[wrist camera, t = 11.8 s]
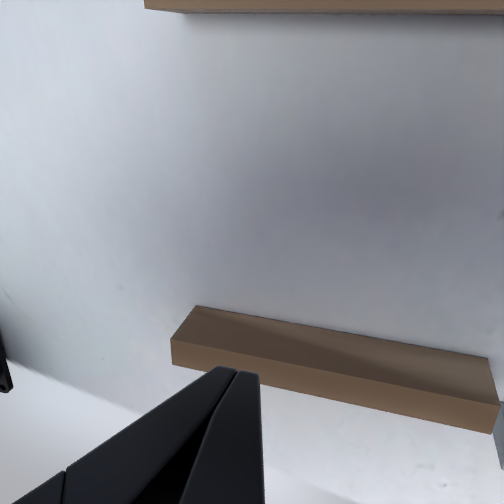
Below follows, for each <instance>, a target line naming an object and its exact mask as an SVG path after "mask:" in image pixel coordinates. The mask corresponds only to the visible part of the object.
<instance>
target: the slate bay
mask: <svg viewBox="0 0 504 504" xmlns="http://www.w3.org/2000/svg"><path fill="white" fill-rule="evenodd" d="M500 405H501V408H500V410H499V413H498V416H497V419H496V422H495V425H494V428H493V431H492V432H493V436H494V440H495V445H496V449H497V453H498V457H499V461H500V465H501V469H502V470H504V403H503V402H500Z"/></svg>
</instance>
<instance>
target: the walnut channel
mask: <svg viewBox="0 0 504 504" xmlns="http://www.w3.org/2000/svg"><path fill="white" fill-rule="evenodd" d="M144 6H145V9H152V10H160V11H168V12H177V13H241V14H445V15H504V0H144ZM170 342H171V355H172V365H177V366H181V367H186V368H190V369H195V370H199V371H204V372H208V371H210V370H211V369H213V368H214V367H216V366H219V365H222V366H226V367H231V368H235V369H237V370H238V371H240V370H245V371H250V372H255V373H258V374H259V377H260V384H263V385H268V386H272V387H277V388H281V389H286V390H290V391H295V392H299V393H304V394H309V395H313V396H318V397H322V398H327V399H331V400H336V401H340V402H345V403H350V404H354V405H359V406H363V407H368V408H372V409H377V410H381V411H386V412H391V413H395V414H400V415H404V416H409V417H413V418H418V419H422V420H427V421H432V422H436V423H441V424H445V425H450V426H454V427H459V428H463V429H468V430H473V431H477V432H482V433H486V434H492V431H493V428H494V425H495V422H496V419H497V416H498V413H499V410H500V408H501V405H500V402H499V398H498V395H497V391H496V387H495V384H494V380H493V377H492V373H491V370H490V366H489V362H488V359H487V358H482V357H476V356H471V355H465V354H460V353H454V352H449V351H443V350H438V349H432V348H427V347H421V346H416V345H410V344H404V343H399V342H393V341H388V340H382V339H377V338H371V337H366V336H360V335H355V334H349V333H344V332H338V331H333V330H327V329H322V328H316V327H311V326H305V325H300V324H294V323H288V322H283V321H277V320H272V319H266V318H261V317H255V316H250V315H244V314H239V313H233V312H228V311H222V310H217V309H211V308H206V307H200V306H195V307H194V309H193V310H192V311H191V312H190V314H189V315H188V316H187V318H186V319H185V320H184V322H183V323H182V324H181V326H180V327H179V328H178V330H177V331H176V332H175V333H174V335H173V336H172V337H171V339H170Z"/></svg>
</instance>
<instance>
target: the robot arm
mask: <svg viewBox="0 0 504 504" xmlns="http://www.w3.org/2000/svg"><path fill="white" fill-rule="evenodd" d="M11 389H13V383H12V379H11V376H10V372H9V369H8V365H7V361H6V358H5V354H4V351H3V347H2V344H1V340H0V392H3V393H8V392H9V391H10V390H11ZM12 504H265V489H264V466H263V443H262V421H261V398H260V377H259V374H258V373H255V372H250V371H245V370H240V371H238V370H237V369H235V368H231V367H226V366H222V365H219V366H216V367H214V368H213V369H211V370H210V371H208V372H207V373H205V374H204V375H202V376H201V377H200V378H198V379H197V380H195V381H194V382H192V383H191V384H189V385H188V386H186V387H185V388H183V389H182V390H180V391H179V392H177V393H176V394H174V395H173V396H172V397H170V398H169V399H167V400H166V401H164V402H163V403H161V404H160V405H158V406H157V407H155V408H154V409H152V410H151V411H149V412H148V413H146V414H145V415H144V416H142V417H141V418H139V419H138V420H136V421H135V422H133V423H132V424H130V425H129V426H127V427H126V428H124V429H123V430H121V431H120V432H118V433H117V434H116V435H114V436H113V437H111V438H110V439H108V440H107V441H106V442H104V443H102V444H101V445H99V446H98V447H96V448H95V449H94V450H92V451H91V452H89V453H87V454H86V455H85V456H83V457H82V458H80V459H79V460H77V461H76V462H74V463H73V464H71V465H70V466H68V467H67V469H66V472H65V471H61V472H59V473H58V474H56V475H55V476H53V477H52V478H50V479H49V480H47V481H46V482H44V483H43V484H41V485H40V486H38V487H37V488H35V489H34V490H32V491H31V492H29V493H28V494H26V495H24V496H23V497H22V498H20V499H18V500H17V501H15V502H14V503H12Z"/></svg>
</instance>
